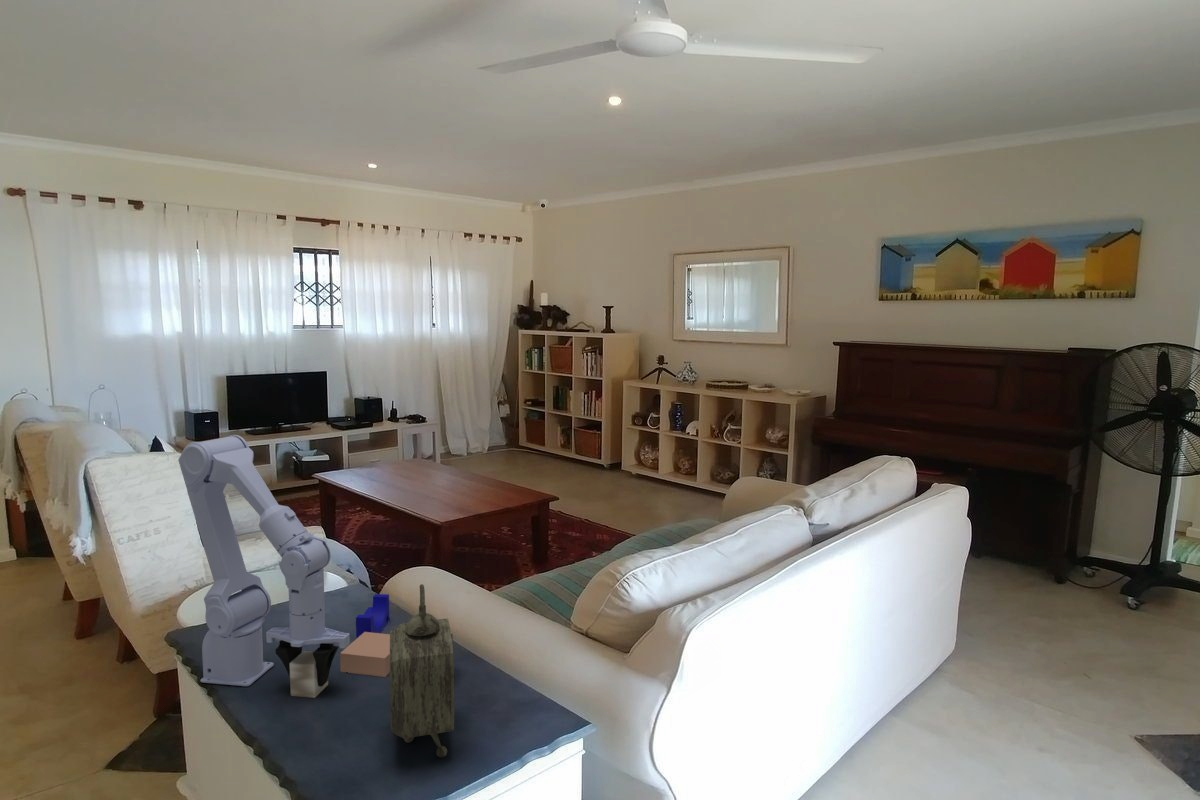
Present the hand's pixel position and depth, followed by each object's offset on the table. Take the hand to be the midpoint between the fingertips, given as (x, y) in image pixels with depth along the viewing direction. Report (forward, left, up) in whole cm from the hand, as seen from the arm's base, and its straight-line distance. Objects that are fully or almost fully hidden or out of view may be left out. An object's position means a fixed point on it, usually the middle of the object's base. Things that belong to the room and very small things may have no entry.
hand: (309, 682), depth 122 cm
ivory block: (0, 0, -1) cm, 1 cm away
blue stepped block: (0, +23, -2) cm, 23 cm away
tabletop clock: (+25, -11, -2) cm, 27 cm away
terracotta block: (+7, +11, -2) cm, 13 cm away
